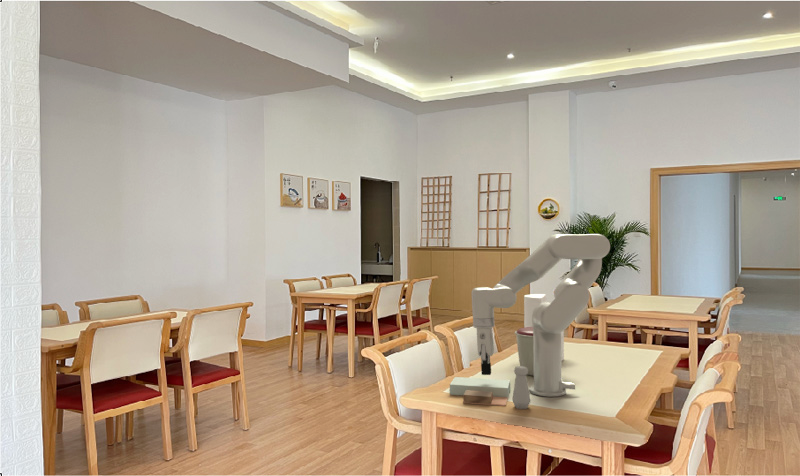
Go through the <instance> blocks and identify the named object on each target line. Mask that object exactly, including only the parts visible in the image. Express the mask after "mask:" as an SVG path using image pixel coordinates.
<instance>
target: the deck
mask: <svg viewBox="0 0 800 476" xmlns="http://www.w3.org/2000/svg"><path fill="white" fill-rule="evenodd" d="M466 390H473V391H487V392H493V397H507V398H508V399H509V395H510V393H511V380H510V379H497V378H496V379H495V378H480V377H464V376H463V377H462V376H454V377H453V379H452V381H451V382H450V384H449V395H451V396H452V395H454V396H463V395H464V393H465V391H466Z"/></svg>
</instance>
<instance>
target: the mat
mask: <svg viewBox="0 0 800 476" xmlns="http://www.w3.org/2000/svg"><path fill="white" fill-rule="evenodd" d="M508 399H509V397H508V398H507V397H493V400H492V402H491V404H483V403H469V402H463V401H462V404H471V405H472V404H473V405H487V406H498V407H499V406H502V407H507V403H508Z"/></svg>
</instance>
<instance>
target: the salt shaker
mask: <svg viewBox="0 0 800 476" xmlns="http://www.w3.org/2000/svg"><path fill="white" fill-rule="evenodd" d="M513 372H514V374H515V380H514V387H513V392H512V403H513V405H514V407H515V409H519V410H527V409H528V408H529V405H530V404H531V401H532V400H531V395H530V391H529V384H528V378H527V374H528V369H527V368H526V367H523V366H520V365H519V366H515V368H514V371H513Z"/></svg>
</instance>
